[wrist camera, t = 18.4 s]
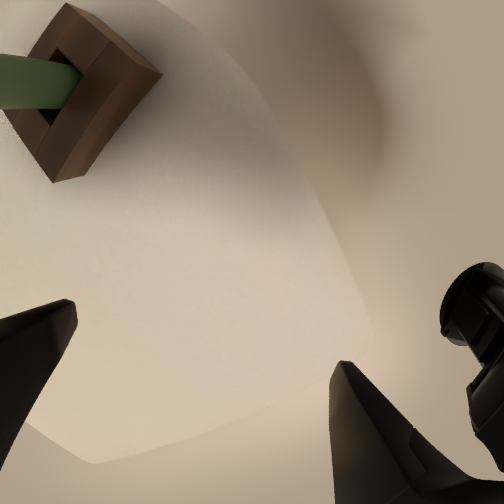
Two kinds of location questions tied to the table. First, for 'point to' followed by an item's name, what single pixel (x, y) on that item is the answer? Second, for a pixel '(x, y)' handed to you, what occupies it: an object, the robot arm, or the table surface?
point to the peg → (35, 83)
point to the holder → (83, 93)
